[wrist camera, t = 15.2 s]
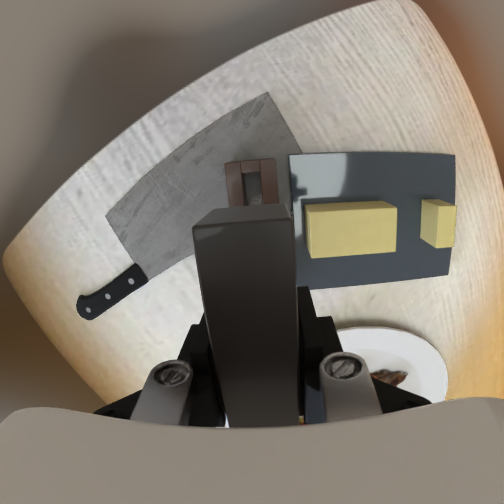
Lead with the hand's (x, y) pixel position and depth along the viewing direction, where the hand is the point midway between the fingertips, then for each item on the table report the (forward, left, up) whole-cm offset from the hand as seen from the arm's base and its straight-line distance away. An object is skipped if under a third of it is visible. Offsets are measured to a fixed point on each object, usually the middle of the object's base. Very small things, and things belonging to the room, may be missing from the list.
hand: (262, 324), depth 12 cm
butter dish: (+10, 0, -15) cm, 19 cm away
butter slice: (+15, 0, -15) cm, 21 cm away
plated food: (+7, -25, -16) cm, 30 cm away
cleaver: (-10, +1, -16) cm, 19 cm away
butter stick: (+7, 0, -15) cm, 16 cm away
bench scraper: (0, 0, -5) cm, 5 cm away
